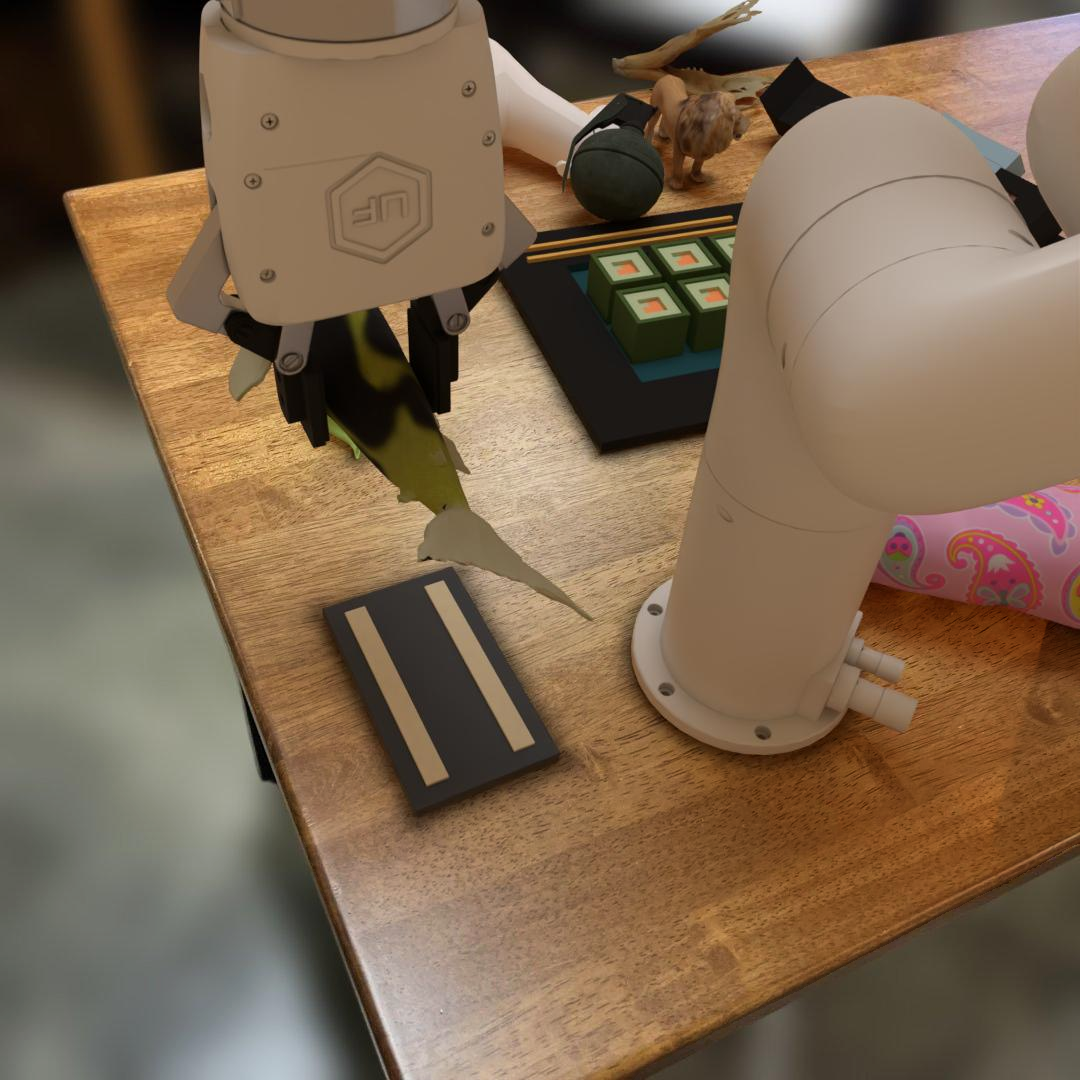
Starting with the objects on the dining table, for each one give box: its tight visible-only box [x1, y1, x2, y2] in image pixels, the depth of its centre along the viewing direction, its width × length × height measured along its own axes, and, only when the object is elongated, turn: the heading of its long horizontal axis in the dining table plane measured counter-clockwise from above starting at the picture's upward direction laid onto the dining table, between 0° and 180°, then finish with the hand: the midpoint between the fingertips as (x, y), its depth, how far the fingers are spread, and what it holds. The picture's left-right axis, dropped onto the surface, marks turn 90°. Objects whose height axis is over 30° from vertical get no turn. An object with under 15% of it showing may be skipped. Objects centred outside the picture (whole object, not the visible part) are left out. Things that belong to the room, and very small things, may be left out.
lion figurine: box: [644, 75, 752, 190], centre depth 97 cm, size 15×5×9 cm, turn 27°
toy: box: [758, 56, 1067, 249], centre depth 94 cm, size 10×8×30 cm
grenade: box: [561, 92, 666, 222], centre depth 90 cm, size 8×8×10 cm
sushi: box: [499, 201, 744, 454], centre depth 83 cm, size 25×25×4 cm
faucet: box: [489, 37, 619, 180], centre depth 95 cm, size 9×20×15 cm
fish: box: [227, 307, 595, 622], centre depth 47 cm, size 11×24×10 cm
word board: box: [322, 566, 561, 819], centre depth 60 cm, size 14×8×1 cm, turn 26°
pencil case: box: [870, 484, 1080, 630], centre depth 65 cm, size 21×9×9 cm
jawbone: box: [611, 0, 777, 113], centre depth 110 cm, size 16×10×10 cm
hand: (371, 407), depth 48 cm, fingers closed on fish, 4 cm apart
